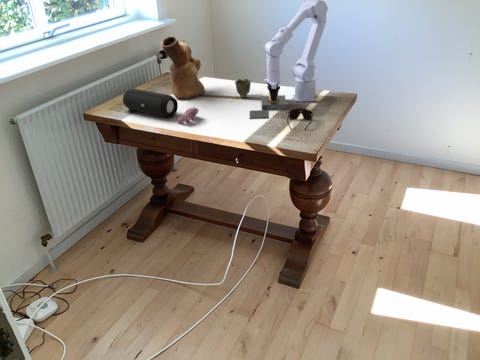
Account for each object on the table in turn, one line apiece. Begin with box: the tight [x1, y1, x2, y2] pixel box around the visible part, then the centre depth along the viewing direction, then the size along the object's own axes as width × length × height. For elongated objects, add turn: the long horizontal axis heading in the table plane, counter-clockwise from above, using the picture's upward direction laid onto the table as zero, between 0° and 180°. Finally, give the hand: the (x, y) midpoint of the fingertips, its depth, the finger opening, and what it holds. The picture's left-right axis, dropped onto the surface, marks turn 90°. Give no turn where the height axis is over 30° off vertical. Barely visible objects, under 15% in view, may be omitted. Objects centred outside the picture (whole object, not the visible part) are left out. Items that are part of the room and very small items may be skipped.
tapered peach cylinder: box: [268, 91, 279, 102], centre depth 200 cm, size 4×4×9 cm
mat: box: [249, 109, 269, 120], centre depth 194 cm, size 8×8×1 cm
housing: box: [260, 94, 287, 111], centre depth 202 cm, size 11×11×2 cm
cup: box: [234, 78, 252, 99], centre depth 211 cm, size 8×7×8 cm
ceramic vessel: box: [160, 36, 206, 100], centre depth 210 cm, size 16×22×30 cm
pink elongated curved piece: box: [177, 106, 200, 124], centre depth 191 cm, size 10×5×7 cm, turn 148°
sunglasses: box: [286, 107, 314, 131], centre depth 183 cm, size 10×12×5 cm
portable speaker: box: [122, 88, 179, 118], centre depth 200 cm, size 26×10×10 cm, turn 60°
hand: (273, 98), depth 201 cm, fingers closed on tapered peach cylinder, 4 cm apart
